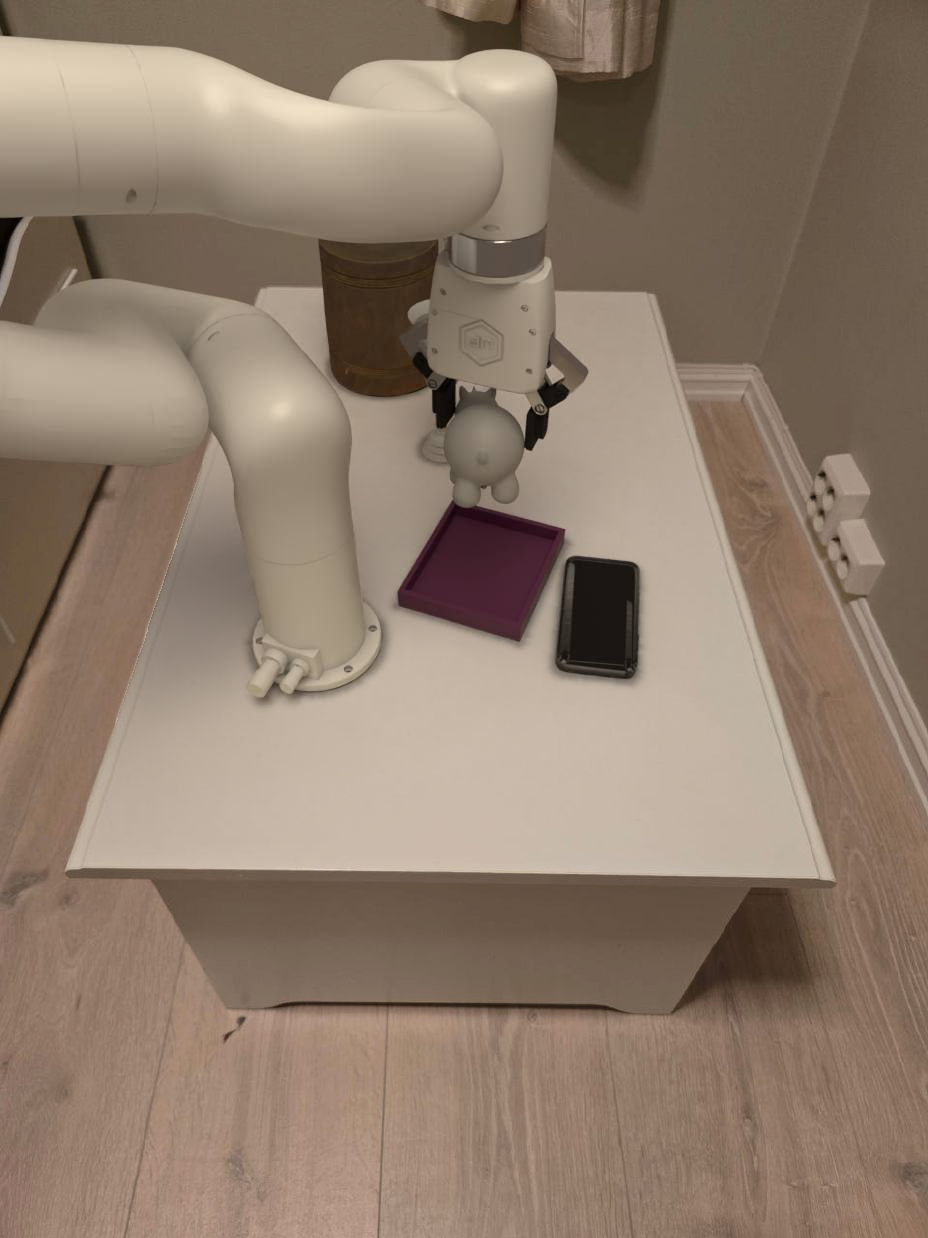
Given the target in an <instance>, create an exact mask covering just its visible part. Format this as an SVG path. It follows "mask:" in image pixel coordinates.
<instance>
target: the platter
mask: <svg viewBox="0 0 928 1238" xmlns="http://www.w3.org/2000/svg"><path fill="white" fill-rule="evenodd" d="M565 537H566V528H562V527H559V526H555V525H552V524H548V523H545V522H544V523H543V522H540V521H537V520H533V519H529V518H525V517H521V516H517V515H513V514H510V513H507V512H504V511H503V512H502V511H498V510H494V509H491V508H487V507H483V506H480V505H476V506H474V507H470V508H464V507H461V506H458V505H457V504H456V503H455V502H454V501H453V499H452V500H451V502H450V503H449V505H448V506H447V508H446V510H445V511H444V513H443V515H442V516H441V518H440V519H439V521H438V523H437V524H436V526H435V528H434V530H433V532H432V533H431V535H430V536H429V538H428V540H427V541H426V543H425V545H424V546H423V547H422V550H421V552H420V553H419V555H418V556H417V558H416V559H415V561H414V563H413V565H412V566H411V568H410V570H409V571H408V573H407V574H406V576H405V578H404V580H403V582H402V583H401V584H400V587H398V589H397V603H398V607H402V608H405V609H409V610H411V611H415V612H418V613H422V614H424V615H427V616H432V617H435V618H439V619H441V620H444V621H445V620H446V621H450V622H452V623H455V624H459V625H462V626H466V627H468V628H472V629H475V630H478V631H482V632H486V633H489V634H492V635H496V636H498V637H501V638H502V637H503V638H505V639H509V640H512V641H515V642H520V641H521V639H522V637H523V635H524V633H525V630H526V628H527V626H528V623H529V621H530V619H531V617H532V615H533V612H534V610H535V608H536V606H537V604H538V603H539V602H538V601H539V599H540V597H541V594H542V592H543V591H544V588H545V586H546V584H547V581H548V580H549V577H550V575H551V573H552V571H553V568H554V566H555V564H556V562H557V559H558V558H559V555H560V553H561V551H562V549H563V546H564V544H565Z"/></svg>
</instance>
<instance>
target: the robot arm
mask: <svg viewBox="0 0 928 1238" xmlns="http://www.w3.org/2000/svg"><path fill="white" fill-rule="evenodd" d="M557 104H558V81H557V77H556V73H555V70H554V69H553V67H552V66H551V64H549V62H547V61H546V60H545V59H544V58H542V57H540V56H538V55H536V54H533V53H530V52H526V51H522V50H518V49H517V50H516V49H505V48H494V49H484V50H480V51H479V50H478V51H476V52H472V53H469V54H466V55H464V56H463V57H461V58H459V59H453V60H451V59H448V60H413V59H381V60H374V61H369V62H367V63H364V64H361V65H359V66H356V67H355V68H353V69H351V70H350V71H348V72H347V73H346V74H345V75H343V76H342V78H340V80H339V81H338V82H337V83H336V85H335V86H334V87H333V90H331V93H330V95H329V98H328V100H325V99H321V98H317V97H314V96H310V95H306V94H303V93H299V92H297V91H293V90H290V89H288V88H285V87H282V86H280V85H278V84H275V83H272V82H270V81H267V80H265V79H263V78H261V77H259V76H256V75H254V74H253V73H250V72H248V71H246V70H244V69H242V68H240V67H238V66H236V65H233V64H231V63H230V62H226V61H223V60H221V59H218V58H216V57H213V56H210V55H207V54H204V53H200V52H198V51H194V50H190V49H186V48H181V47H175V46H163V45H161V46H160V45H142V44H141V45H140V44H138V45H137V44H127V43H126V44H124V43H123V44H122V43H111V42H110V43H107V42H95V41H94V42H93V41H80V40H79V41H77V40H65V39H64V40H63V39H50V38H49V39H48V38H40V37H39V38H37V37H24V36H9V35H8V36H7V35H0V219H7V218H15V219H16V218H30V217H31V218H40V217H41V218H42V217H43V218H44V217H49V218H51V217H75V216H77V217H78V216H110V215H111V216H112V215H113V216H114V215H117V216H118V215H119V216H121V215H203V216H209V217H213V218H216V219H221V220H225V221H228V222H230V223H231V222H232V223H235V224H239V225H243V226H249V227H253V228H260V229H266V230H270V231H275V232H276V231H277V232H282V233H286V234H292V235H297V236H301V237H307V238H313V239H317V240H318V239H324V240H330V241H338V242H348V243H398V242H418V241H430V240H437V239H438V240H442V239H443V241H444V249H443V250H441V251H440V252H439V254H438V256H437V260H436V264H435V269H434V274H433V280H432V287H431V296H430V305H429V315H428V318H426V319H424V320H422V321H420V322H418V323H416V324H414V325H412V326H410V327H408V328H406V329H405V330H404V332H403V333H402V334H401V335H400V337H399V340H400V342H401V343H402V345H403V346H404V348H405V350H406V351H407V353H408V354H409V356H411V357H412V358H413V359H412V362H413V364H414V366H415V367H416V368H417V369H418V370H419V371H420V372H421V374H422V375H423V376H424V377H425V378H426V379H427V381H426V384H427V385H426V386H427V387H428V389H430V390H431V406H432V407H431V409H432V410H431V412H432V413H433V414H434V415H436V418H435V429H436V428H439V429H443V428H445V427H446V426H447V427H448V425H449V423H450V422H451V420H452V419H453V417H454V416H455V409H456V406H457V384H456V380H459V381H460V382H464V383H469V384H473V385H476V386H477V385H478V386H482V387H486V388H489V389H490V388H494V389H497V390H499V391H504V392H509V393H514V394H519V395H524V396H525V398H526V399H527V400H528V403H529V405H530V407H529V409H528V411H527V413H526V415H525V416H526V417H525V430H524V445H525V446H524V449H525V450H526V451H529V452H532V451H534V448H535V446H536V444H537V442H538V441H539V440H544V439H545V438H546V435H547V433H548V428H549V419H550V409H551V408H553V407H555V406H557V405H558V404H559V403H562V402H563V401H565V400H566V399H567V397H569V396H570V395H571V394H572V393H574V392H575V391H576V390H577V389H578V388H579V387H580V386H581V385H582V384H584V382H585V380H586V379H587V377H588V374H589V372H590V371H589V368H588V367H587V366H586V365H585V364H584V363H583V362H581V360H580V359H578V358H577V357H576V356H575V355H574V354H573V353H572V352H571V351H570V350H569V349H568V348H566V346H565V345H563V344H562V343H561V342H560V341H559V340H558V339H557V338H556V335H557V334H556V331H557V328H556V327H557V309H556V307H557V305H556V290H555V289H556V288H555V278H554V270H553V264H552V260H551V258H549V257H548V256H545V253H546V242H547V231H548V230H547V229H548V215H549V214H548V213H549V201H550V191H551V189H550V188H551V178H552V177H551V176H552V164H553V152H554V140H555V129H556V117H557ZM426 338H427V347H425V343H424V342H423V340H424V339H426ZM435 349H436V350H435ZM552 365H553V367H555V368H556V370H558V371H559V372H560V373H561V374H562V375H563V376H564V377H562V378H560V379H559V380H557V381H555V382H553V383H552V380H551V379H550V377H549V376H548V375H549V374H548V373H547V370H548V369H549V368H551V366H552ZM208 427H209V429H210V431H211V433H212V434H213V436H214V437H215V439H216V440H217V442H218V444H219V445H220V447H221V449H222V451H223V453H224V455H225V459H226V460H227V463H228V466H229V469H230V473H231V476H232V481H233V500H234V501H233V502H234V509H235V513H236V518H237V519H236V520H237V524H238V528H239V531H240V532H239V533H240V535H241V539H242V542H243V546H244V550H245V554H246V558H247V562H248V567H249V570H250V575H251V579H252V583H253V587H254V591H255V595H256V599H257V603H258V604H257V605H258V607H259V612H260V615H261V617H260V618H259V620H257V623H256V625H255V627H254V629H253V634H252V638H251V642H252V652H253V655H254V659H255V661H256V663H257V665H258V668H257V669H256V670H255V672H254V673H253V675H252V676H251V678H250V679H249V681H248V682H247V684H246V685H245V687H246V690H247V691H248V692H249V693H250V694H251V695H253V696H256V697H257V698H264V697H265V696H266V694H267V693H268V691H269V690H270V689H271V687H272V685H273V684H274V683H276V684H278V685H279V688H280V690H281V691H282V692H284V693H285V694H289V695H291V694H293V693H294V691H301V692H323V691H327V690H334V689H336V688H338V687H341V686H342V687H343V686H345V685H347V684H349V683H350V682H353V681H354V680H356V679H357V678H359V677H360V676H361V675H362V674H364V673H365V672H366V671H367V670H368V669H369V668H370V667H371V666H372V665H373V663H374V662H375V660H376V658H377V656H378V655H379V653H380V649H381V646H382V636H383V635H382V629H381V628H382V627H381V624H380V620H379V616H378V615H377V614H376V612H375V611H374V609H373V608H372V607H371V606H370V605H369V604H368V602H366V601H365V600H364V599H362V591H361V582H360V574H359V565H358V563H359V562H358V556H357V546H356V545H357V544H356V538H355V530H354V521H353V514H352V507H351V506H352V505H351V494H350V464H351V455H352V449H353V447H352V446H353V433H352V431H353V430H352V424H351V421H350V418H349V414H348V412H347V409H346V406H345V405H344V402H343V401H342V399H341V397H340V395H339V394H338V392H337V391H336V389H335V388H334V386H333V385H332V384H331V382H330V380H329V379H328V378H327V377H326V376H325V373H323V372H322V371H321V369H320V368H319V367H318V366H317V365H316V364H315V362H314V361H313V360H312V359H311V357H310V356H309V355H308V354H307V352H305V351H304V349H302V348H301V347H300V345H299V344H298V343H297V342H296V340H295V339H294V338H293V337H292V336H291V335H290V333H289V332H288V331H287V330H286V329H285V328H284V326H282V325H281V324H280V322H279V321H277V320H276V318H274V317H273V316H272V315H270V314H269V313H268V312H266V311H264V310H262V309H261V308H259V307H257V306H254V305H252V304H248V303H246V302H242V301H239V300H234V299H229V298H226V297H219V296H215V295H209V294H204V293H199V292H194V291H188V290H182V289H178V288H177V289H176V288H172V287H167V286H166V287H165V286H161V285H156V284H150V283H145V282H139V281H133V280H128V279H120V278H119V279H118V278H94V279H88V280H82V281H79V282H75V283H73V284H70V285H67V286H66V287H64V288H62V289H59V291H57V292H55V293H54V294H53V295H52V296H50V298H49V299H48V300H46V302H45V303H44V304H43V306H42V307H41V308H40V310H39V311H38V313H37V316H36V318H35V321H34V324H33V325H29V324H24V323H19V322H15V321H10V320H4V319H3V320H2V319H0V459H13V460H21V461H22V460H24V461H32V462H33V461H35V462H48V463H49V462H51V463H63V464H65V463H66V464H67V463H69V464H81V465H84V464H85V465H98V466H99V465H101V466H118V467H135V468H136V467H138V468H150V467H163V466H166V465H173V464H176V463H178V462H180V461H183V460H184V459H186V458H188V457H189V456H191V455H192V454H193V453H195V451H197V450H198V449H199V447H200V446H201V445H202V443H203V442H204V440H205V437H206V434H207V431H208Z"/></svg>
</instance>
